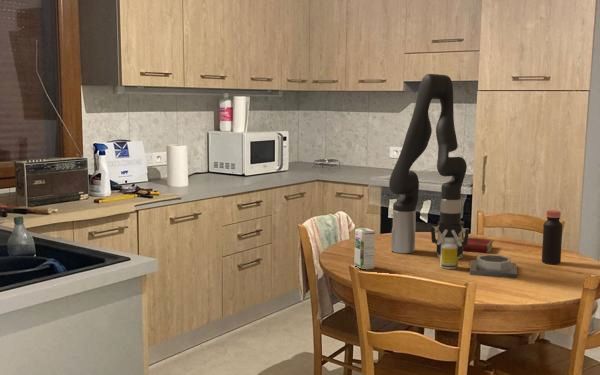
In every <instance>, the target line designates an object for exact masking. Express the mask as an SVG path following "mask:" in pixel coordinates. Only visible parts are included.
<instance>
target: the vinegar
mask: <svg viewBox="0 0 600 375" xmlns="http://www.w3.org/2000/svg"><path fill="white" fill-rule="evenodd" d="M561 214H562V213H561V211H560V210H548V209H547V210H546V221H545V222H543V229H542V247H541V249H542V250H541V262H542V263H544V264H546V265H559V264H561V262H562V261H561V260H562V244H563V243H562V242H563V240H562V239H563V223H562V222H561V221H560V219H561Z"/></svg>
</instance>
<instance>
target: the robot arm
mask: <svg viewBox="0 0 600 375" xmlns="http://www.w3.org/2000/svg"><path fill="white" fill-rule="evenodd" d="M453 87H454V86H453V81H452V79H451V77H450V76H448V75H447V74H446V75H445V74H437V73H428V74H425V75H424V76H423V77H422V78H421V80H420V83H419V87H418V93H417V95H416V100H415V105H414V109H413V112H412V116H411V120H410V122H409V125H408V129H407V131H406V135H405V137H404V138H405V139H404V141H403V144H402V147H401V150H400V153H399V155H398V159H397V161H396V162H395V165H394V168H393V170H392V172H391V174H390V177H389V180H388V182H389V183H388V185H389V186H388V188H389V189H390V192H391V193H393V195H401V197H400V198H399V199H397V201H395V202H393V205H392V229H391V247H390V248H391V251H393V253H396V254H397V253H399V254H411V253H415V251H416V250H415V249H416V220H417V219H416V218H417V217H416V214H417V212H416V210H417V206H418V202H419V191H420V182H419V176H418V174H417V173H416V172H415V171H413V170H411V167H412V166H413V164H414V163H415V162H416V161H417V160H418V158H420V156H421V155H422V154H423V153H424V152H425V150H427V147H428V145H429V142H430V139H431V136H432V130H433V129H432V124H431V121H430V117H429V116H430V115H429V110H430V106H431V102H432V100H434V99H435V100H439V102H440V106H441V108H440V115H439V118H438V120H437V124H436V127H435V136H436V141H437V147H438V149H437V159H436V160H437V161H436V169H437V170H436V171H437V172H438V174H439V175H440V176H442V177H451V178H450V180H449V181H446V182H443V184H442V185H441V188H440V189H441V191H440V192H441V195H440V196H441V197H440V198H441V199H440V204H439V210H440V211H439V220H440V225H439V227H438V226H435V225H432V226H431V227H430V233H431V236H430V237H431V243H433V244H435V245H436V254H437V253H438V255H440V248H441V244H440V243H441V241H442V240H443V238H444V237H451V238H455V239H456V241H457V243H458V256H460V255H461V254H462V246H463V245H467V242H468V238H469V233H470V228H468V227H465V228H462V227H461V221H462V220H461V219H462V202H461V201H462V200H461V198H462V196H461V195H462V186H463V183H464V179H465V176H466V173H467V161H466V159H464V158H463V156H462V157H461V156H450V155H449V154H450V153H453V152H454V151H456V150H457V149H458V147H459V146H458V145H459V144H458V140H457V139H458V138H457V134H456V128H455V119H454V88H453ZM438 229H439V231H440V232H441V234H442V235H441V236H440V238H439V240H438V239H437V238H436V233H438ZM461 231H463V235H464V237H465V238H464V241H463V242H462V241H461V239H460V237H459V235H458V234H459V233H460V232H461ZM391 251H390V252H391Z"/></svg>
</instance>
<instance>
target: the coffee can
mask: <svg viewBox="0 0 600 375" xmlns="http://www.w3.org/2000/svg"><path fill="white" fill-rule="evenodd" d="M439 225H440V219H439V220H437V227H439ZM464 225H465V221H463V220H461V227H462V228H464ZM441 235H442V234H441V232H440V231H439V229H438V230H437V240H439V238H440V236H441ZM458 235H459V237H460V239H461V241H462V242H463V237H464V234H463V231H461V232H460V233H459V234H458ZM443 242H444V241H443V240H442V241H441V243H440V244H442V243H443ZM455 243H456V244H457V245H458V243H457V241H455ZM436 254H437V255H436V256H437V257H438V258H440V255H438V253H437V252H436ZM463 258H464V251H463V246H462V254H461V255H460V256H458V260H459V259H463Z"/></svg>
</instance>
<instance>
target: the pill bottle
mask: <svg viewBox="0 0 600 375" xmlns="http://www.w3.org/2000/svg"><path fill="white" fill-rule="evenodd" d="M443 241H444V242H443V243H442V244H441V248H440V257H439V259H440V262H439V266H440V268H442V269H446V270H454V269H457V268H458V264H459V262H458V261H459V259H458V245H457V244H456V243H455V241H456V239H455V238H451V237H444V238H443Z"/></svg>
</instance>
